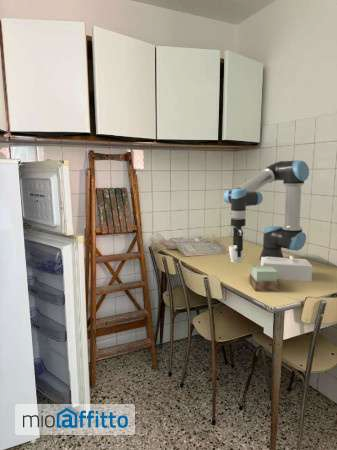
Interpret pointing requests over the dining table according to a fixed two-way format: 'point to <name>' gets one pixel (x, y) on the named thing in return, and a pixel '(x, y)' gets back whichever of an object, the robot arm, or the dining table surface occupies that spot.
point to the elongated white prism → (289, 268)
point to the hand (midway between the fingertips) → (237, 260)
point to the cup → (234, 253)
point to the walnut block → (264, 285)
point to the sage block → (264, 273)
